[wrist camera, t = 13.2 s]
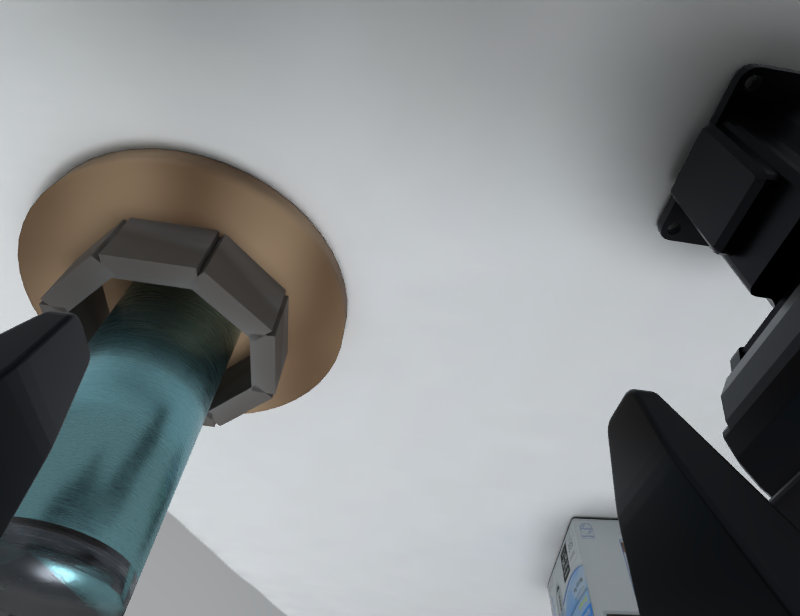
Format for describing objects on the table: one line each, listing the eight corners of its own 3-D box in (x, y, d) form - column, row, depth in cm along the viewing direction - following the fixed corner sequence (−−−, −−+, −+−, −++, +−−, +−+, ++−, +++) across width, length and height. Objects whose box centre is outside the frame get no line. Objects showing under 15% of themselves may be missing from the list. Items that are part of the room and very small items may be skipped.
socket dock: (361, 179, 21) (350, 229, 18) (336, 412, 30) (325, 472, 27) (-12, 121, 20) (-88, 164, 17) (76, 378, 29) (35, 435, 26)
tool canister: (154, 244, 22) (-54, 523, 12) (263, 306, 24) (153, 591, 14) (112, 316, 24) (-87, 593, 15) (213, 368, 26) (91, 642, 17)
